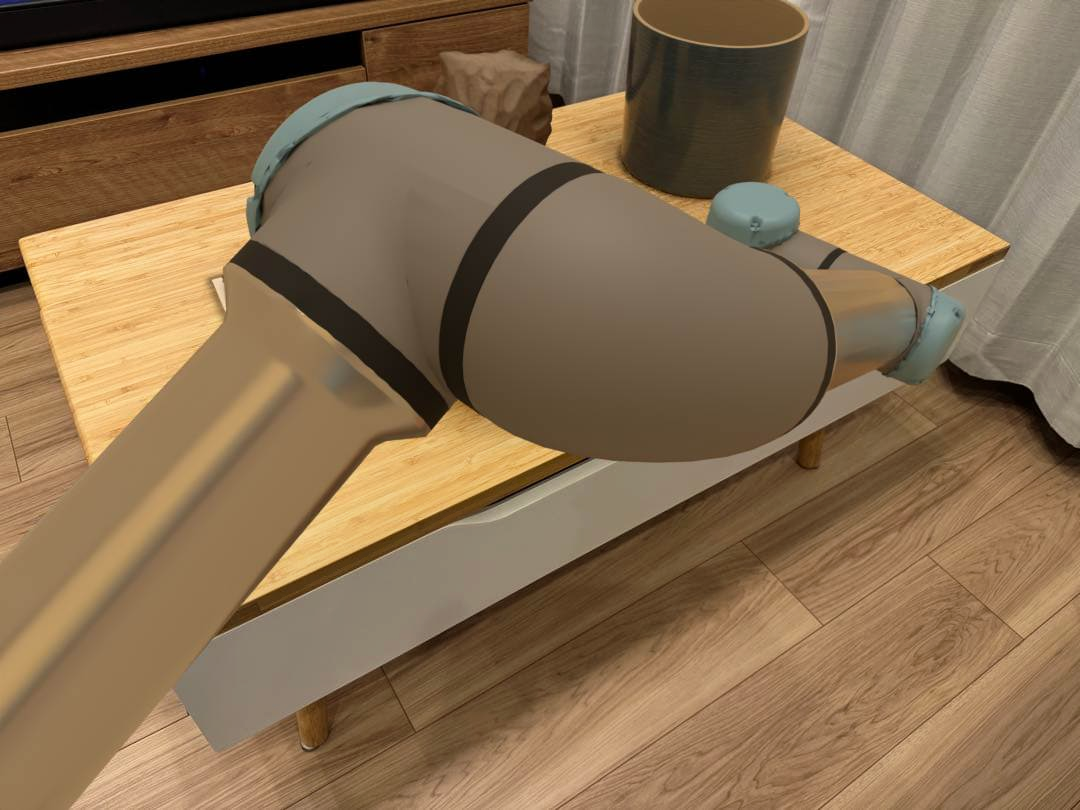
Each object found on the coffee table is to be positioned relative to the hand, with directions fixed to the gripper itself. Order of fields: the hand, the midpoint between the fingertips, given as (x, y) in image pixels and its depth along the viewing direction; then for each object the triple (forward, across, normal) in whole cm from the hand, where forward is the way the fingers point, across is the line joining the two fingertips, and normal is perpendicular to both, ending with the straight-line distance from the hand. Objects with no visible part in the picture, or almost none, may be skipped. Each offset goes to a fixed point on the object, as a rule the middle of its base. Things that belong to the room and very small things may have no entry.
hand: (394, 309), depth 78 cm
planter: (-32, +47, -6) cm, 57 cm away
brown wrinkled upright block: (-5, +26, -6) cm, 27 cm away
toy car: (+19, +7, -6) cm, 21 cm away
